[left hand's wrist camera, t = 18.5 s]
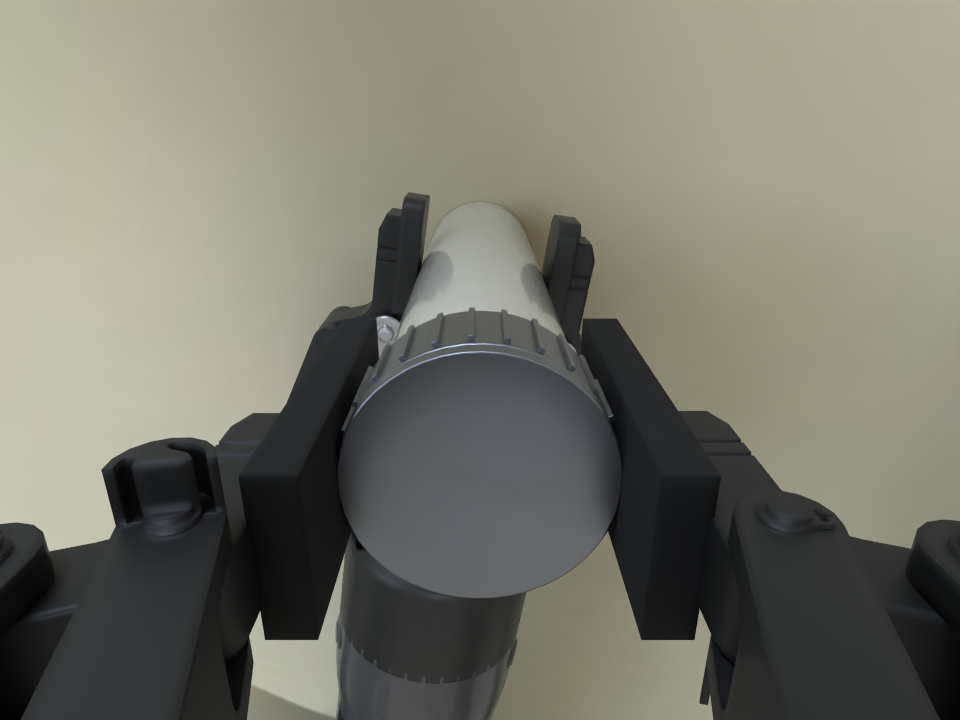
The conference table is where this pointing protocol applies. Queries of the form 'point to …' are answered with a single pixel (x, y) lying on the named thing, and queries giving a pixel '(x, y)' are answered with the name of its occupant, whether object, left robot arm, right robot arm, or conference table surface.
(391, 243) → the right robot arm
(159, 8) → the conference table surface
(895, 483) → the conference table surface
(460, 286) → the bottle
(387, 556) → the lid
